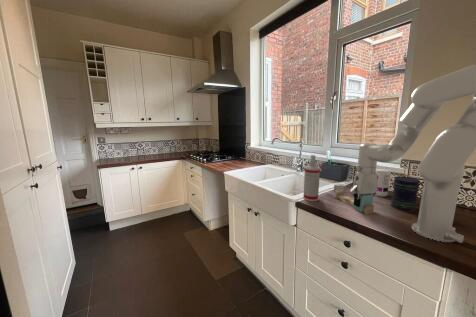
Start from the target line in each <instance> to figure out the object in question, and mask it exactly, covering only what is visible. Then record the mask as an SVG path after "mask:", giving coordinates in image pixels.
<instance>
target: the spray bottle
mask: <svg viewBox="0 0 476 317" xmlns="http://www.w3.org/2000/svg"><path fill="white" fill-rule="evenodd" d="M320 172H321V167H320V166H318V165H317V161H316V155H314V154H310V160H309V164H308V165H306V166H304V178H303V179H304V180H303V182H304V183H303V197H302V198H303V200H305V201H308V202H318V200H319V193H320V192H319V189H320V175H321V173H320Z"/></svg>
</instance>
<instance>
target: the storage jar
mask: <svg viewBox="0 0 476 317" xmlns="http://www.w3.org/2000/svg"><path fill="white" fill-rule="evenodd" d="M392 187H393V190H392V195H391V200H390V201H391V202H390V203H391V204H390V207H391V208H393V209H395V210H398V211H402V212H406V213H407V212H411V213H412V212H415V211H416V207H417V202H418V201H417V195H418V192H419V188H420V180H419V179H418V178H415V177H409V176H399V175H398V176H394V178H393V184H392Z"/></svg>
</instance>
